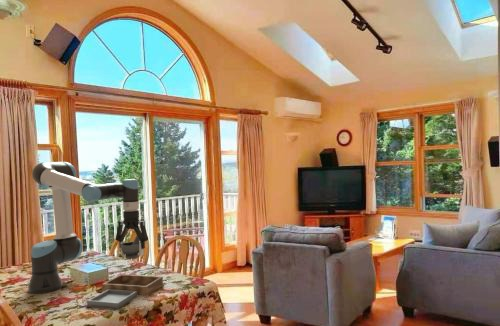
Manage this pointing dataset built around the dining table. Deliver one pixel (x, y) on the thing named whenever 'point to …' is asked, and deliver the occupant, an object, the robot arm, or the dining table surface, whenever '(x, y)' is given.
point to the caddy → (150, 281)
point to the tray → (112, 299)
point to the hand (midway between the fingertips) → (132, 254)
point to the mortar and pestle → (131, 249)
